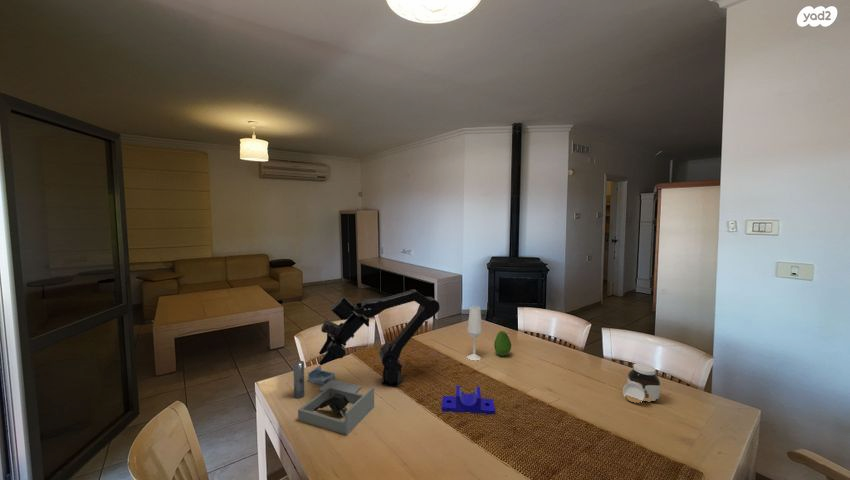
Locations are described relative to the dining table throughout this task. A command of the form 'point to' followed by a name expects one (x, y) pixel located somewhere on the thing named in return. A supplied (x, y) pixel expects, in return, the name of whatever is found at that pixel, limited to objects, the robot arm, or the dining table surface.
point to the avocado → (502, 344)
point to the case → (352, 415)
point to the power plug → (335, 403)
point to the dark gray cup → (299, 379)
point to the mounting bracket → (468, 402)
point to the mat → (340, 386)
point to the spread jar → (642, 382)
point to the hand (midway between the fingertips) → (319, 358)
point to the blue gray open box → (320, 376)
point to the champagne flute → (474, 329)
